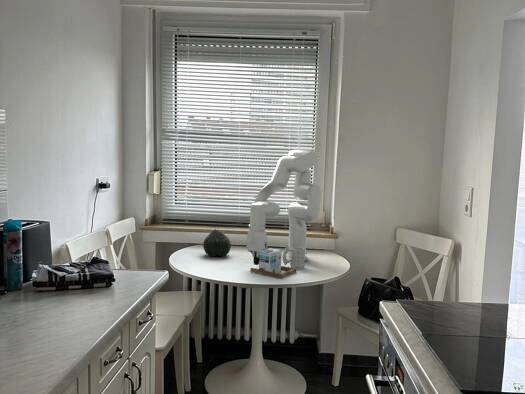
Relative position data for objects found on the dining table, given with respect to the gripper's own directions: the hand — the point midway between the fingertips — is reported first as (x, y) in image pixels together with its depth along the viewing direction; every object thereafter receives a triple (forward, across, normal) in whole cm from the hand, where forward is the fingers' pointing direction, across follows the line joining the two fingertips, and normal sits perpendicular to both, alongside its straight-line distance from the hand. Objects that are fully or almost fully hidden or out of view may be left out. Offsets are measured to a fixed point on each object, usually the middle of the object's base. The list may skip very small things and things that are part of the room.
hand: (256, 264), depth 225 cm
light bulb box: (+3, +9, -1) cm, 9 cm away
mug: (+3, +13, +14) cm, 20 cm away
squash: (+3, -33, +8) cm, 34 cm away
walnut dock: (+2, +10, -1) cm, 10 cm away
